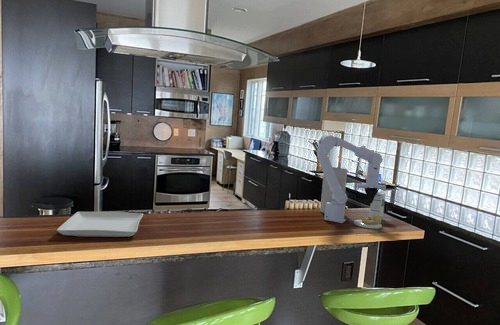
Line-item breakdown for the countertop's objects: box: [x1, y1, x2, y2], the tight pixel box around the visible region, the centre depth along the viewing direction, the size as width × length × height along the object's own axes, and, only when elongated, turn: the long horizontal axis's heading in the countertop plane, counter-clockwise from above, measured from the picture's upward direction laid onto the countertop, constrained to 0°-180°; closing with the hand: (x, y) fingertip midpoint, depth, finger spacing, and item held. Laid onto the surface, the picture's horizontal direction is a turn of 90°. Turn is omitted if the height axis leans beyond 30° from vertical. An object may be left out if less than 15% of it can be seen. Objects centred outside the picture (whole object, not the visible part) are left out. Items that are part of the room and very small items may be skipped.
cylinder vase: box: [319, 166, 348, 214], centre depth 195 cm, size 12×12×25 cm
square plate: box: [56, 211, 144, 238], centre depth 139 cm, size 27×27×4 cm
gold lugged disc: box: [361, 215, 382, 224], centre depth 173 cm, size 8×8×4 cm
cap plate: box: [353, 219, 383, 230], centre depth 173 cm, size 13×13×4 cm
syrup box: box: [368, 191, 386, 221], centre depth 188 cm, size 6×6×14 cm
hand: (369, 202), depth 178 cm, fingers closed
